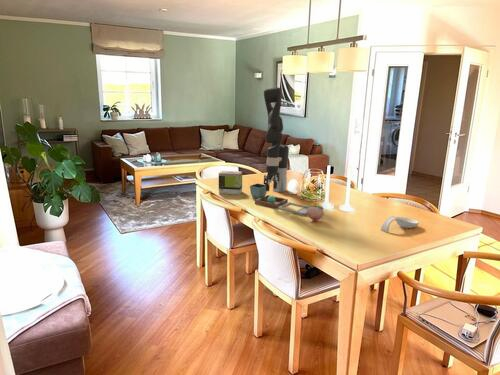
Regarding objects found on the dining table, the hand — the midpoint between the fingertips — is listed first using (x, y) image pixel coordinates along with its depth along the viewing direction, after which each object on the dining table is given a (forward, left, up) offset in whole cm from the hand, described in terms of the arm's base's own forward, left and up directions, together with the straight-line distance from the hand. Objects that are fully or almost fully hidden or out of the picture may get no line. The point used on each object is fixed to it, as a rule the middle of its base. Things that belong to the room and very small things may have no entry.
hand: (271, 189), depth 231 cm
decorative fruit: (+10, +35, -10) cm, 38 cm away
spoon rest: (-9, +76, -10) cm, 77 cm away
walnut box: (0, 0, -10) cm, 10 cm away
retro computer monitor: (-6, -37, -10) cm, 39 cm away
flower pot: (-6, -14, -10) cm, 18 cm away
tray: (0, +18, -10) cm, 21 cm away
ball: (0, 0, -9) cm, 9 cm away
